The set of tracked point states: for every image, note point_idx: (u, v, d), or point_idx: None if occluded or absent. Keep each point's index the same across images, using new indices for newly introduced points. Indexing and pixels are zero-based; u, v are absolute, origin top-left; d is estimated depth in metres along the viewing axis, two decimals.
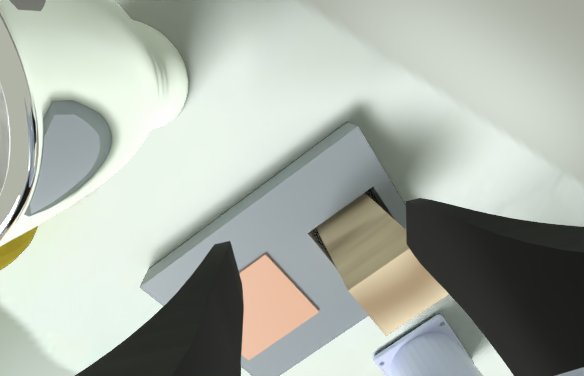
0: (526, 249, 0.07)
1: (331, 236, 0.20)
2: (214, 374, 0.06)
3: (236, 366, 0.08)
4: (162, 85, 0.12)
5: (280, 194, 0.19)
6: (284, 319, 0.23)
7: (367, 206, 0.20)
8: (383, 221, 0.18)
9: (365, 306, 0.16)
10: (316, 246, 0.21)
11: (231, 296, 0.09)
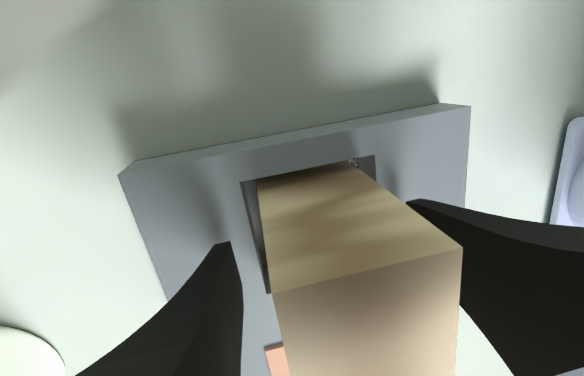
0: (526, 249, 0.07)
1: None
2: (214, 374, 0.06)
3: (236, 366, 0.08)
4: None
5: None
6: None
7: None
8: None
9: None
10: None
11: (231, 296, 0.09)
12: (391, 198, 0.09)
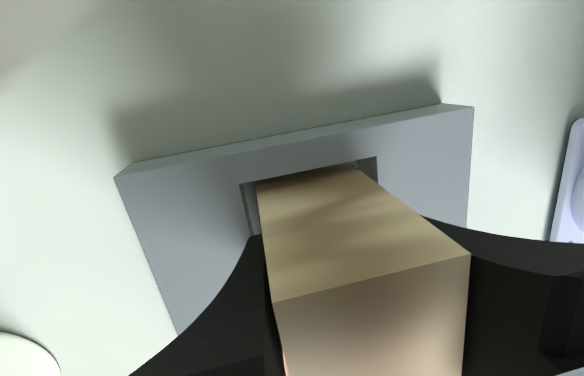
0: (473, 262, 0.07)
1: None
2: (276, 358, 0.06)
3: (281, 354, 0.09)
4: None
5: (184, 313, 0.13)
6: None
7: None
8: None
9: None
10: None
11: None
12: (394, 201, 0.09)
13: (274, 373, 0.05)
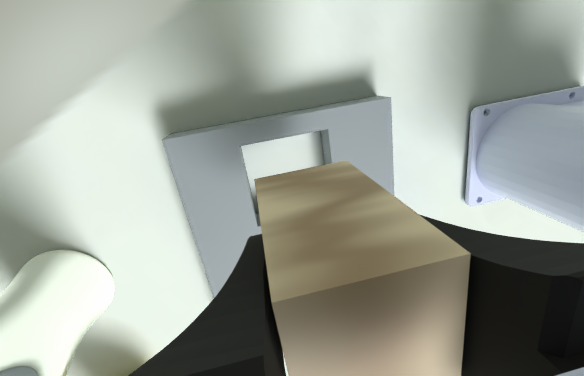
0: (473, 263, 0.07)
1: None
2: (275, 358, 0.06)
3: (281, 354, 0.09)
4: (21, 321, 0.15)
5: (203, 235, 0.19)
6: None
7: None
8: None
9: None
10: None
11: None
12: (394, 201, 0.09)
13: (274, 373, 0.05)
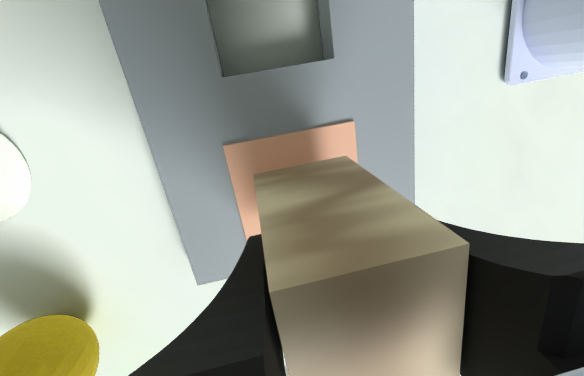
0: (473, 263, 0.07)
1: None
2: (275, 358, 0.06)
3: (281, 354, 0.09)
4: None
5: (142, 85, 0.13)
6: None
7: None
8: None
9: None
10: (249, 75, 0.14)
11: None
12: (393, 194, 0.09)
13: (274, 373, 0.05)
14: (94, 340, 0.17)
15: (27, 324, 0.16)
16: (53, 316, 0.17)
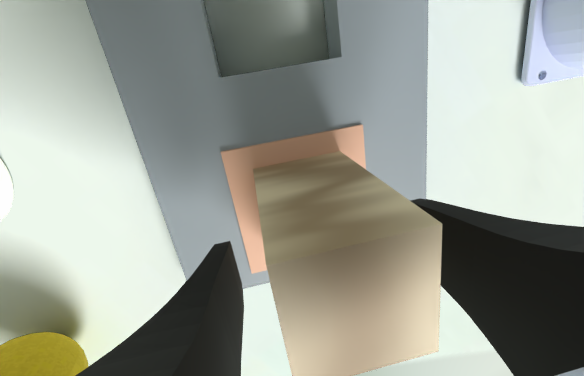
0: (526, 249, 0.07)
1: None
2: (214, 374, 0.06)
3: (236, 366, 0.08)
4: None
5: (132, 85, 0.12)
6: None
7: None
8: None
9: (348, 372, 0.08)
10: (249, 75, 0.13)
11: (231, 296, 0.09)
12: (380, 184, 0.10)
13: None
14: (82, 360, 0.16)
15: (8, 345, 0.15)
16: (38, 335, 0.16)
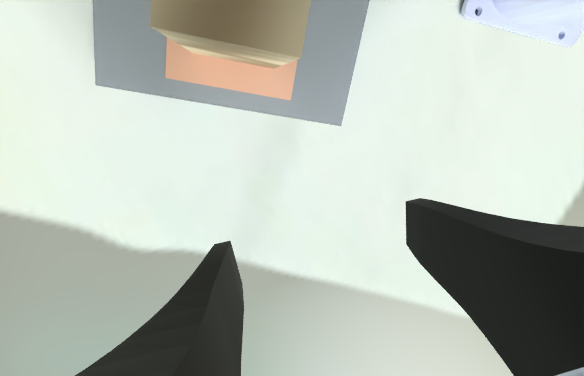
0: (526, 249, 0.07)
1: None
2: (214, 374, 0.06)
3: (236, 366, 0.08)
4: None
5: None
6: None
7: None
8: None
9: (209, 32, 0.08)
10: None
11: (231, 296, 0.09)
12: None
13: None
14: None
15: None
16: None
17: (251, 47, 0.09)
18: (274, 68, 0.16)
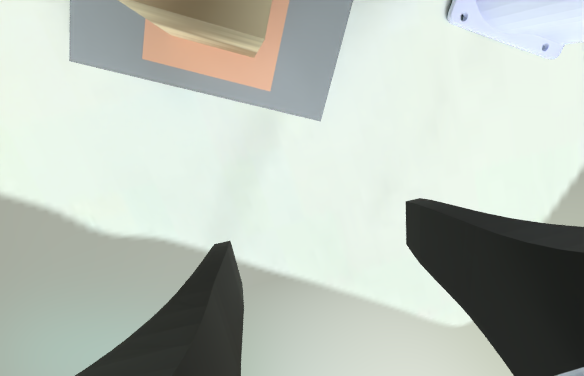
0: (526, 249, 0.07)
1: None
2: (214, 374, 0.06)
3: (236, 366, 0.08)
4: None
5: None
6: None
7: None
8: None
9: (169, 4, 0.08)
10: None
11: (231, 296, 0.09)
12: None
13: None
14: None
15: None
16: None
17: (213, 23, 0.09)
18: None
